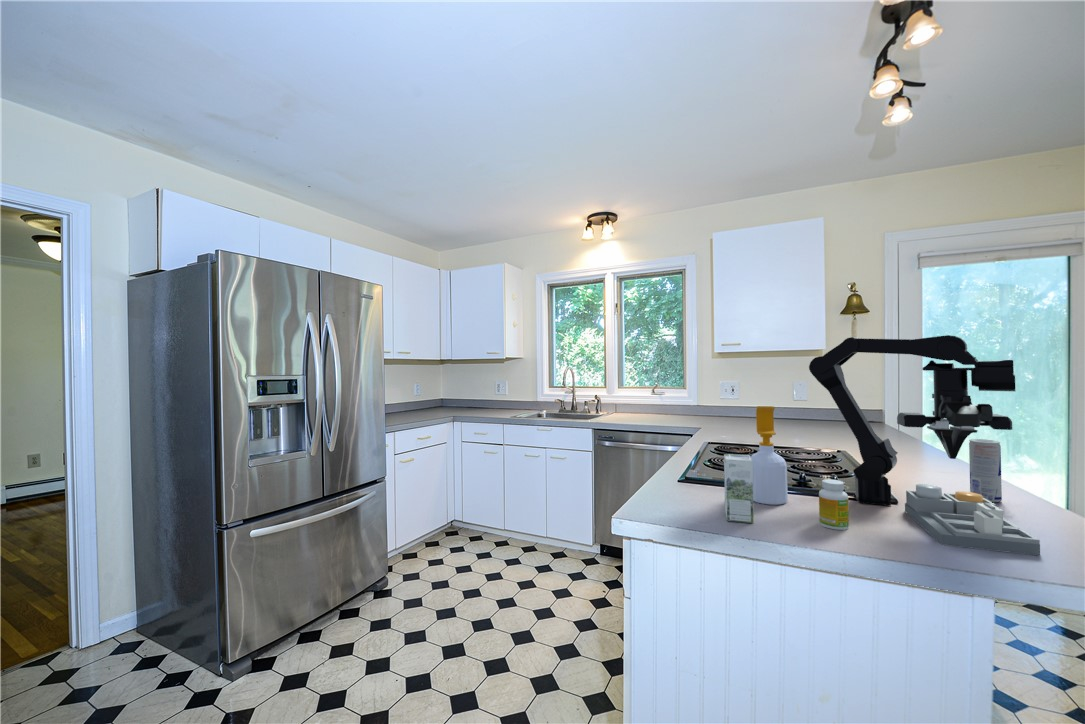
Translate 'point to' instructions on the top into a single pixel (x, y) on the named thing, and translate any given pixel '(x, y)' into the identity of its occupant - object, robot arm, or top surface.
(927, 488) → the button
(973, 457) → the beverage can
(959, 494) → the button
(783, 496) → the soap bottle
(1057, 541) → the top surface
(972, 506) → the panel
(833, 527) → the supplement bottle
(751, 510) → the syrup box
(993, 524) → the slider
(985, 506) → the slider
